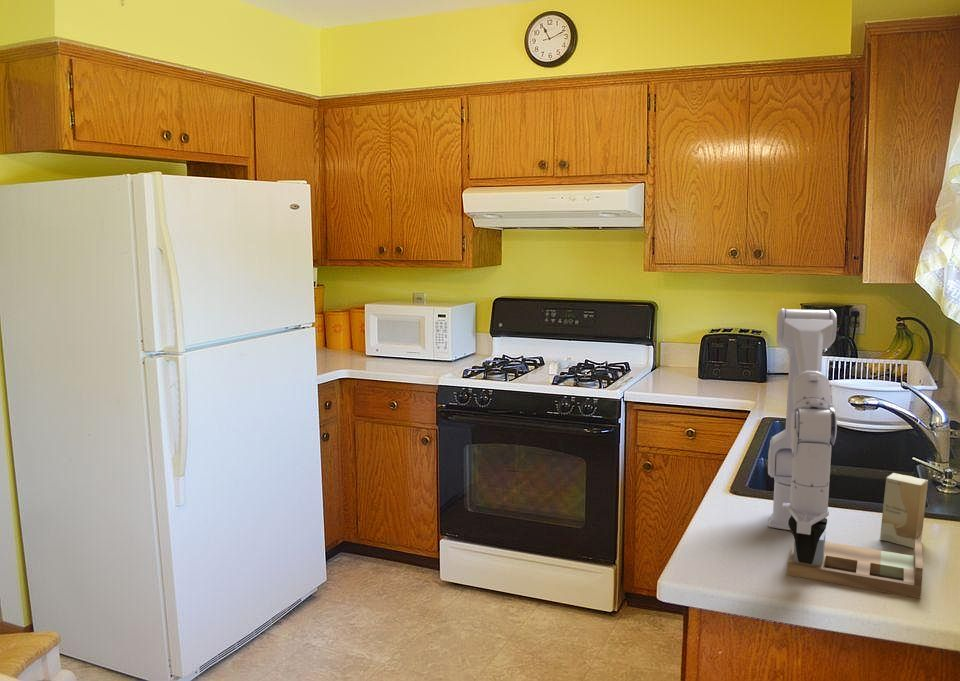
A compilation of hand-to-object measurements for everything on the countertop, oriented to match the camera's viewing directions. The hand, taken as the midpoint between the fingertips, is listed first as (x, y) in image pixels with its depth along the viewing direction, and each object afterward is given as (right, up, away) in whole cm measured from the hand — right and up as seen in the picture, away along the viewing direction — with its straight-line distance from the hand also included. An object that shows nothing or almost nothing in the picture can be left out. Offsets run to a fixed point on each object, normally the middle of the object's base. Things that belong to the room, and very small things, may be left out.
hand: (805, 561), depth 137 cm
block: (+3, -1, +6) cm, 7 cm away
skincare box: (+25, -1, +19) cm, 31 cm away
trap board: (+10, -3, +6) cm, 12 cm away
